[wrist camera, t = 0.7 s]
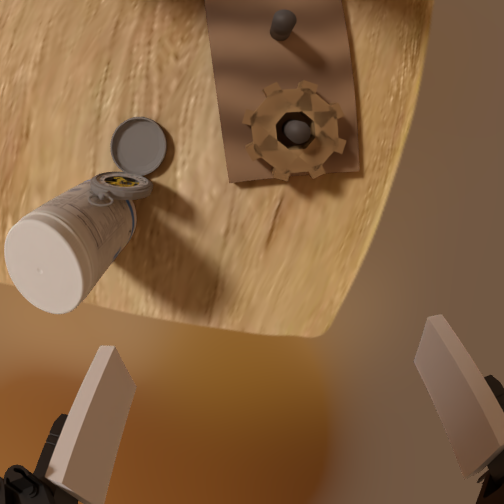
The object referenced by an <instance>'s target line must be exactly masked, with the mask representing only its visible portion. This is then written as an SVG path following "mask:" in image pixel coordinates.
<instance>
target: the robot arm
mask: <svg viewBox="0 0 504 504" xmlns="http://www.w3.org/2000/svg"><path fill="white" fill-rule="evenodd" d="M414 364H415V366H416V368H417V370H418V372H419V374H420V376H421V378H422V380H423V382H424V384H425V386H426V389H427V391H428V393H429V395H430V397H431V399H432V402H433V404H434V406H435V408H436V411H437V413H438V415H439V417H440V419H441V422H442V424H443V427H444V429H445V431H446V434H447V436H448V439H449V441H450V444H451V446H452V449H453V451H454V454H455V456H456V459H457V461H458V464H459V467H460V470H461V472H462V474H463V478H464V479H466V478H469V477H471V476H473V475H475V474H477V473H479V472H480V471H482V470H483V469H484V468H485V467H486V466H488V469H489V470H488V471H487V472H486V473H484V474H483V475H482V476H481V477H480V478H479V479H478V481H477V483H479V482H481V481H482V480H483V479H484V482H483V483H482V484H483V485H482V488H481V491H480V494H479V496H478V499H477V502H476V504H504V388H503V386H502V385H501V383H500V382H499V381H498V380H497V379H495V378H494V377H493V376H492V375H489V376H487V377H483V375H482V374H481V372H480V370H479V369H478V367H477V366H476V364H475V362H474V361H473V360H472V358H471V356H470V355H469V353H468V352H467V350H466V349H465V347H464V346H463V344H462V342H461V341H460V340H459V338H458V337H457V335H456V334H455V332H454V331H453V329H452V328H451V326H450V325H449V324H448V322H447V321H446V319H445V318H444V317H443V315H442V314H440V315H435V316H430V317H427V320H426V324H425V328H424V331H423V334H422V337H421V340H420V343H419V346H418V350H417V353H416V356H415V358H414ZM135 390H136V385H135V383H134V381H133V380H132V378H131V376H130V374H129V372H128V370H127V369H126V367H125V365H124V363H123V361H122V359H121V357H120V355H119V353H118V351H117V349H116V347H115V346H100V347H99V349H98V351H97V353H96V355H95V358H94V360H93V362H92V364H91V366H90V368H89V370H88V372H87V374H86V377H85V378H84V381H83V383H82V385H81V387H80V389H79V392H78V394H77V396H76V398H75V401H74V403H73V405H72V408H71V410H70V412H69V415H66V414H61V415H60V416H59V417H58V418H57V420H56V421H55V422H54V424H53V426H52V428H51V430H50V435H48V438H47V440H46V443H45V445H44V448H43V450H42V453H41V455H40V458H39V460H38V464H37V466H36V469H35V471H34V473H33V474H32V473H31V472H29V471H28V470H27V469H25V468H24V467H23V466H21V465H13V466H11V467H10V468H8V470H7V471H6V472H5V475H4V479H3V478H1V477H0V504H78V500H79V501H80V502H82V503H84V504H104V502H105V498H106V494H107V490H108V486H109V481H110V477H111V473H112V470H113V466H114V462H115V458H116V455H117V451H118V447H119V443H120V440H121V436H122V433H123V429H124V426H125V422H126V419H127V416H128V413H129V409H130V406H131V403H132V400H133V396H134V393H135Z"/></svg>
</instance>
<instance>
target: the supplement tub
mask: <svg viewBox="0 0 504 504" xmlns="http://www.w3.org/2000/svg"><path fill="white" fill-rule="evenodd" d="M90 180H91V179H89V180H87V181H85V182H83V183H81V184H79V185H77V186H75V187H73V188H71V189H70V190H68V191H66V192H64V193H62V194H60V195H59V196H57V197H55V198H53V199H52V200H50V201H48V202H47V203H45V204H43V205H42V206H40V207H38V208H37V209H35V210H33V211H32V212H30V213H29V214H27V215H25V216H24V217H23V218H22V219H21V220H20V221H19V222H18V223H16V224H15V225H14V226H13V227H12V228H11V229H10V231H9V233H8V235H7V237H6V241H5V249H4V253H5V261H6V266H7V269H8V272H9V274H10V277H11V279H12V281H13V283H14V284H15V286H16V287H17V289H18V290H19V291H20V293H22V295H23V296H24V297H25V298H26V299H27V300H28V301H29V302H30V303H32V304H33V305H35V306H36V307H38V308H39V309H41V310H43V311H46V312H49V313H53V314H65V313H68V312H71V311H72V310H74V309H75V308H76V307H77V306H78V305H79V304H80V303H81V302H82V301H83V300H84V299H85V298H86V297H87V295H88V294H89V293H90V291H91V290H92V289H93V287H94V286H95V285H96V283H97V282H98V281H99V279H100V278H101V276H102V275H103V274H104V272H105V271H106V270H107V269H108V267H109V266H110V265H111V263H112V262H113V261H114V260H115V258H116V257H117V256H118V254H119V253H120V252H121V251H122V249H123V248H124V247H125V246H126V244H127V243H128V242H129V241H130V239H131V237H132V236H133V234H134V231H135V228H136V222H137V216H136V209H135V206H134V203H133V201H132V200H117V199H114V203H113V204H112V205H110V206H105V207H101V206H95V205H93V204H91V203H90V202H89V201H88V197H89V196H91V195H94V194H95V193H94V192H93V191H92V190H91V186H90ZM114 186H117V185H114ZM91 201H92V202H94V203H97V204H108V203H110V202H111V200H110V199H108V200H100V199H99V197H98V196H96V197H92V198H91Z"/></svg>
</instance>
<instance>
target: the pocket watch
mask: <svg viewBox="0 0 504 504" xmlns="http://www.w3.org/2000/svg"><path fill="white" fill-rule="evenodd" d="M166 150H167V141H166V136H165V134H164V132H163V130H162V128H161V127H160V126H159V125H158V124H157V123H156V122H154V121H153V120H151V119H148V118H145V117H133V118H130V119H128V120H126V121H124V122H123V123H121V124H120V125H119V126H118V127H117V129H116V130H115V132H114V134H113V136H112V140H111V155H112V158H113V160H114V162H115V164H116V165H117V166H118V168H120V169H121V170H122V171H123V172H106V173H102V174H98V175H96V176H95V177H93V178H92V179H91V180H90V186H91V190H92V191H93V192H94V193H95V194H94V195H91V196H89V197H88V201H89V202H90V203H91V204H93V205H95V206H101V207H105V206H110V205H112V204H113V203H114V199H117V200H136V199H142V198H145V197H147V196H149V195H150V194H151V191H152V189H153V183H152V182H151V181H149V180H148V179H147V178H145V177H143V176H142V175H146V174H149V173H151V172H153V171H154V170H155V169H156V168H158V167H159V165H160V164H161V163H162V161H163V160H164V157H165V155H166ZM114 185H117V186H114ZM96 196H98V197H99V199H100V200H108V199H110V200H111V202H110V203H108V204H97V203H94V202H92V201H91V198H92V197H96Z"/></svg>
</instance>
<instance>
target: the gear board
mask: <svg viewBox="0 0 504 504" xmlns="http://www.w3.org/2000/svg"><path fill="white" fill-rule="evenodd" d="M204 1H205V9H206V17H207V25H208V32H209V40H210V48H211V55H212V63H213V70H214V78H215V85H216V92H217V100H218V107H219V114H220V121H221V128H222V135H223V143H224V149H225V156H226V163H227V170H228V177H229V183H234V182H242V181H250V180H259V179H268V178H277V179H280V180H284V181H287V182H288V179H289V176H299V175H310V177H311V178H312V179H314V178H316V177H318V176H320V175H322V174H324V173H337V172H353V171H359V148H358V129H357V115H356V102H355V92H354V82H353V73H352V64H351V57H350V49H349V42H348V36H347V29H346V23H345V18H344V12H343V7H342V1H341V0H204Z"/></svg>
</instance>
